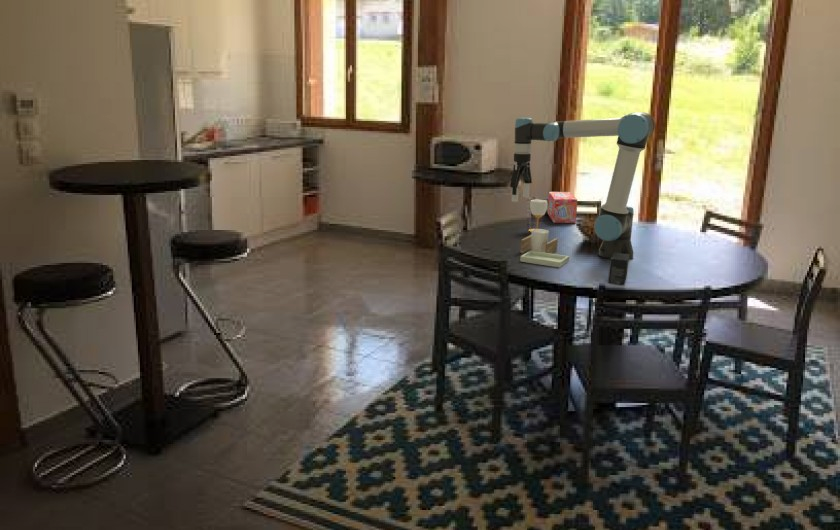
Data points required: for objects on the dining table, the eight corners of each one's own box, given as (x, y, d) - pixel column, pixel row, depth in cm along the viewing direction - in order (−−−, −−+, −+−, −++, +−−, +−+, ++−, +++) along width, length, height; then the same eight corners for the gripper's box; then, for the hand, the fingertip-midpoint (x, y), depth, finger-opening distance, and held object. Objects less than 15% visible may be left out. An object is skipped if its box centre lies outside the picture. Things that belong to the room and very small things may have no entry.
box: (547, 213, 400) (548, 190, 396) (568, 214, 399) (570, 191, 395) (552, 223, 374) (554, 198, 370) (576, 224, 373) (578, 199, 370)
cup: (525, 229, 358) (527, 199, 353) (540, 228, 360) (542, 198, 356) (533, 233, 349) (535, 202, 345) (549, 232, 352) (551, 202, 348)
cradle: (556, 251, 316) (557, 238, 314) (547, 256, 306) (548, 243, 304) (530, 247, 322) (530, 234, 320) (520, 252, 312) (521, 239, 310)
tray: (568, 261, 299) (569, 256, 298) (559, 267, 289) (560, 262, 288) (530, 255, 308) (530, 250, 307) (520, 261, 298) (520, 256, 297)
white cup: (547, 254, 309) (548, 233, 307) (529, 253, 311) (530, 232, 308) (547, 250, 317) (549, 229, 314) (530, 249, 318) (531, 228, 316)
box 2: (624, 285, 266) (627, 260, 263) (607, 283, 268) (609, 258, 265) (627, 278, 275) (629, 253, 272) (610, 276, 278) (613, 251, 275)
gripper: (524, 149, 319) (523, 194, 325) (503, 155, 298) (501, 202, 304) (540, 150, 315) (537, 196, 321) (519, 156, 294) (517, 204, 300)
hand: (520, 199), depth 312 cm, fingers open, 13 cm apart
